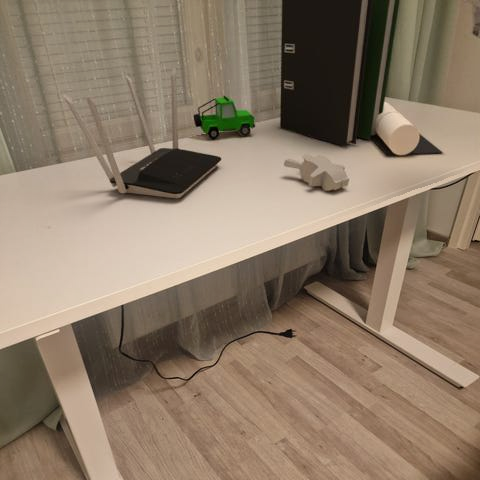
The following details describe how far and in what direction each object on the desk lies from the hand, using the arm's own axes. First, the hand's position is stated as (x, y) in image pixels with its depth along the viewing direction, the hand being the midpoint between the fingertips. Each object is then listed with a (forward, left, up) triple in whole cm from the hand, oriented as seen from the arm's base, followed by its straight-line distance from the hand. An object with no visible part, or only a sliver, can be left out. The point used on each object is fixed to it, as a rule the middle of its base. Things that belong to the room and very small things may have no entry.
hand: (479, 36), depth 77 cm
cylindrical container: (+4, -16, -22) cm, 28 cm away
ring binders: (+18, -40, -26) cm, 51 cm away
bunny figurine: (+27, -2, -27) cm, 38 cm away
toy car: (+48, -42, -27) cm, 69 cm away
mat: (0, -29, -26) cm, 39 cm away
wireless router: (+63, -8, -27) cm, 69 cm away
